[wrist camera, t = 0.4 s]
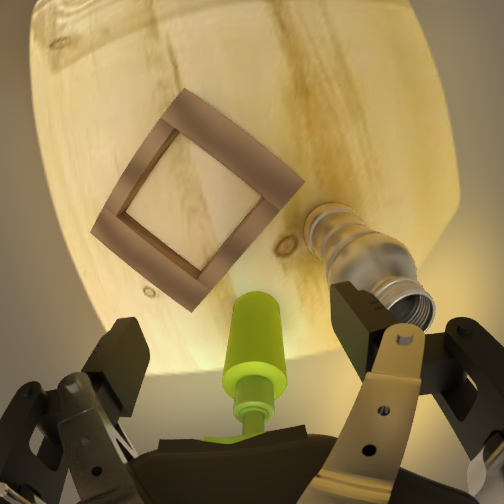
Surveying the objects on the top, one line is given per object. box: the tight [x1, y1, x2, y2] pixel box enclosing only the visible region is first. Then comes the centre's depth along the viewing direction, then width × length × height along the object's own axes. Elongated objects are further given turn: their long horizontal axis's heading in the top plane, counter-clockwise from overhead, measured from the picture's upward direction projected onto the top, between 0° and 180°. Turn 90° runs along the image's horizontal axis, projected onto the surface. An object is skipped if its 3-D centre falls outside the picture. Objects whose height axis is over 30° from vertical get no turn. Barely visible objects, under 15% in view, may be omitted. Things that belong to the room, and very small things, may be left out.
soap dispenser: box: [201, 292, 287, 444], centre depth 26 cm, size 6×7×20 cm
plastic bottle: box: [304, 203, 435, 334], centre depth 22 cm, size 6×7×20 cm
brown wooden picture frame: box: [90, 88, 305, 313], centre depth 30 cm, size 20×16×2 cm
